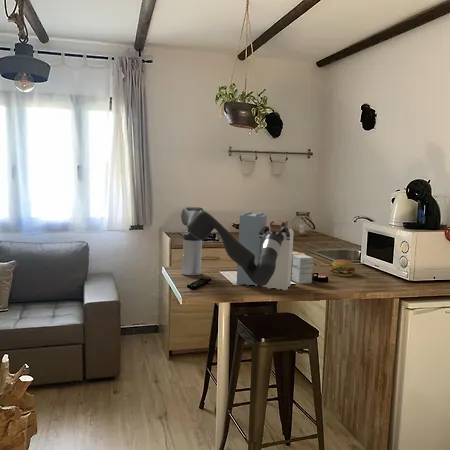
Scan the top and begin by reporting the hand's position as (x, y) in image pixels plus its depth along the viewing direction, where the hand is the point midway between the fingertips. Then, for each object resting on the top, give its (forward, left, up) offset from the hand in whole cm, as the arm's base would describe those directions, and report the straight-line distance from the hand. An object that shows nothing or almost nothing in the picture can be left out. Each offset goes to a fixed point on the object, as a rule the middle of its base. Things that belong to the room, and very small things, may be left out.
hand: (278, 223), depth 211 cm
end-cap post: (+2, +6, -30) cm, 30 cm away
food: (+40, +40, -30) cm, 64 cm away
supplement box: (+15, +18, -30) cm, 38 cm away
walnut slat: (+1, +4, -3) cm, 5 cm away
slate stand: (-11, +11, -30) cm, 33 cm away
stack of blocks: (+6, +29, -30) cm, 43 cm away
